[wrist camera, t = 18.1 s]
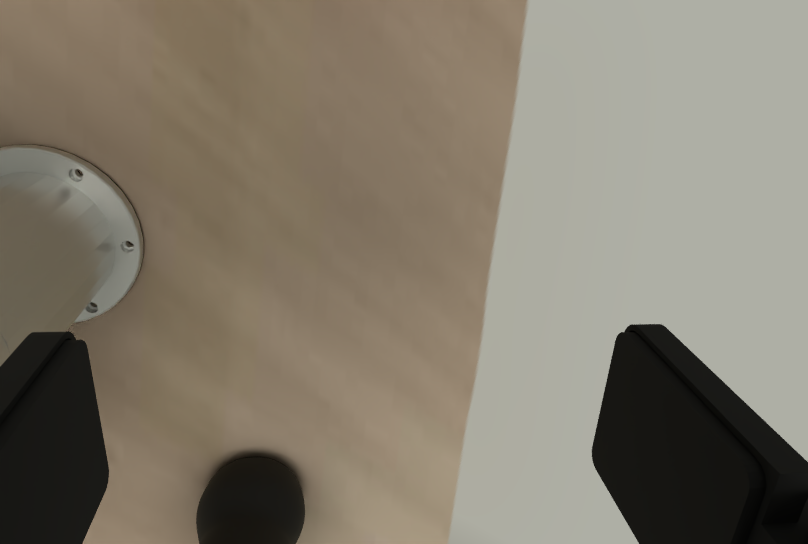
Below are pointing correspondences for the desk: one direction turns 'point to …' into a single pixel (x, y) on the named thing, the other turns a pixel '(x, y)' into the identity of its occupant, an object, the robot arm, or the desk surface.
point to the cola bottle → (251, 505)
